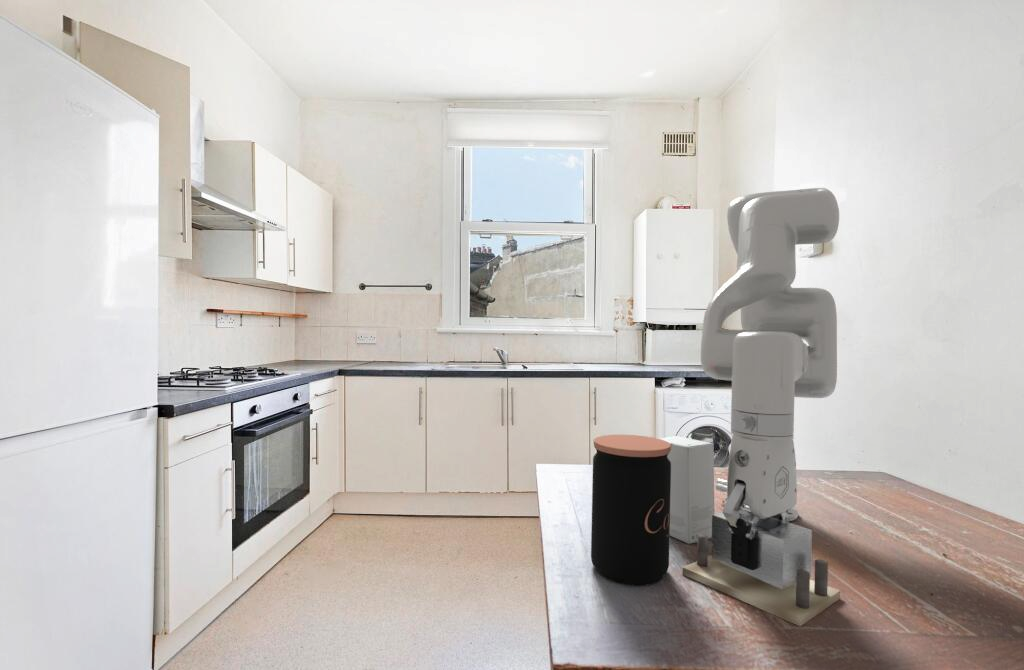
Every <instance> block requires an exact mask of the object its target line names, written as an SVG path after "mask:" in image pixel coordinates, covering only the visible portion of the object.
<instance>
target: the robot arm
mask: <svg viewBox="0 0 1024 670" xmlns="http://www.w3.org/2000/svg"><path fill="white" fill-rule="evenodd" d="M726 213H727V215H726V217H727V218H726V219H727V226H728V231H729V236H730V239H731V242H732V245H733V248H734V250H735V252H736V255H737V258H736V273H735V274H734V275H733V276H732V277H731V278H729V279H728V280H727V281H726V282H724V284H723V285H722V286H721V287H720V288H719V289H718V290H717V291H716V292H715V294H714V295H713V296H712V298H711V300H710V301H709V303H708V304H707V307H706V309H705V311H704V316H703V320H702V321H703V322H702V331H701V340H700V341H701V342H700V364H701V367H702V370H703V372H704V373H705V374H706V376H708V377H710V378H711V379H713V380H714V379H715V380H723V381H731V410H730V434H731V435H732V438H731V441H730V442H731V443H730V449H729V456H728V465H727V466H728V467H727V479H723V478H717V481H716V486H715V489H716V491H719V492H724V493H726V498H725V499H724V503H723V505H724V506H723V508H722V512H723V514H724V516H725V518H726V520H727V523H728V525H729V531H730V533H731V561H732V562H733V563H734V564H737V565H740V566H742V567H745V568H747V569H750V570H755V569H756V568H757V538H754V535H755V531H756V527H757V523H758V519H759V518H760V519H767V518H770V517H773V518H776V519H779V520H782V521H786V522H789V523H790V522H792V521H795V520H797V519H798V517H799V510H798V509H797V507H795V506H796V505H797V501H798V494H797V493H798V491H797V490H798V489H797V486H798V485H797V484H798V483H797V460H796V459H797V458H796V450H795V443H794V434H795V433H794V432H795V431H794V430H795V428H794V427H795V398H805V399H808V398H809V399H823V398H828V397H830V396H831V395H832V394H833V393H834V392H835V390H836V386H837V381H838V379H837V378H838V316H837V306H836V301H835V297H834V296H833V295H832V293H831V292H830V291H828V290H826V289H825V288H820V287H792V286H791V285H793V282H794V281H795V279H796V273H797V270H796V269H797V266H796V265H797V264H796V246H797V245H818V244H819V245H820V244H826V243H830V242H831V241H833V240H834V238H835V237H836V235H837V233H838V230H839V224H840V209H839V204H838V200H837V198H836V196H835V194H834V193H833V192H832V191H831V190H829V189H828V188H826V187H813V188H803V189H802V188H801V189H790V190H789V189H788V190H779V191H778V190H777V191H766V192H757V193H752V194H746V195H742V196H740V197H737V198H735V199H734V200H732V201H731V202H730V203H729V205H728V207H727V212H726ZM739 310H740V324H741V328H742V329H723V324H724V323H725V321H726V320H727V319H728V318H729V317H730V316H731V315H732V314H734V313H735V312H737V311H739ZM804 341H805V342H806V343H807V344H808V345H807V344H806V343H805V342H804ZM742 508H745V509H748V510H750V511H751V512H749V511H745V510H742ZM741 516H746V517H749V522H748V526H747V524H746V523H745V521H744V520H743V519H741Z"/></svg>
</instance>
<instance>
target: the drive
mask: <svg viewBox="0 0 1024 670" xmlns="http://www.w3.org/2000/svg"><path fill="white" fill-rule="evenodd" d="M742 510H745V511H749V512H751V511H750V510H748V509H745V508H742ZM741 519H743V520H744V521H745V523H746V524H747V526H748V522H749V517H746V516H741ZM754 538H757V568H756V569H755V570H750V569H747V568H745V567H742V566H740V565H737V564H734V563H733V562H732V561H731V533H730V531H729V525H728V523H727V520H726V518H725V516H724V514H723V511H721V512H718V513H714V515H712V538H711V548H710V549H711V554H710V555H711V559H714V560H716V561H718V562H721V563H723V564H725V565H727V566H730V567H732V568H734V569H737V570H739V571H741V572H743V573H746V574H748V575H750V576H753V577H755V578H757V579H760V580H762V581H764V582H766V583H769V584H771V585H773V586H776V587H778V588H780V589H785V588H787V587H789V586H791V585H794V584H796V572H797V570H805V571H808V572H809V573H810V578H811V577H812V548H813V547H812V543H813V530H812V529H810V528H808V527H804V526H801V525H798V524H795V523H791V522H790V521H789V522H786V521H782V520H779V519H776V518H773V517H770V518H767V519H760V518H759V519H758V523H757V527H756V531H755V535H754Z"/></svg>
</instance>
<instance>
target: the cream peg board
mask: <svg viewBox="0 0 1024 670" xmlns="http://www.w3.org/2000/svg"><path fill="white" fill-rule="evenodd" d="M696 543H697V545H696V546H697V548H696V549H697V550H696V561H694V562H691V563H690V564H687V565H684V566H683V567H682V569H681V570H682V575H683V576H685V577H687V578H689V579H692V580H694V581H696V582H699V583H701V584H704V586H708V587H711V588H712V589H714V590H716V591H719V592H722V593H724V594H725V595H728V596H730V597H733V598H734V599H737V600H740V601H742V602H744V603H746V604H749V605H750V606H753V607H755V608H757V609H760V610H762V611H764V612H767V613H769V614H771V615H773V616H775V617H778V618H781V619H782V620H785V621H787V622H788V623H791V624H794V625H796V626H799V627H801V626H803V625H804V624H806V623H807V622H809V621H811V620H812V619H813V618H815V617H816V616H817V615H819V614H820V613H821V612H823V611H824V610H826V609H827V608H829V607H830V606H832V605H833V604H834V603H836V602H837V601H839V600H840V599H841V590H840V589H837V588H834V587H832V586H829V585H828V580H829V579H828V575H829V562H828V561H826V560H823V559H820V558H819V559H818V558H817V559H815V560H814V580H813V579H811V577H810V573H809V572H808V571H805V570H797V572H796V584H794V585H791V586H789V587H787V588H785V589H780V588H778V587H776V586H773V585H771V584H769V583H766V582H764V581H762V580H760V579H757V578H755V577H753V576H750V575H748V574H746V573H743V572H741V571H739V570H737V569H734V568H732V567H730V566H727V565H725V564H723V563H721V562H718V561H716V560H714V559H711V554H710V555H709V539H708V536H707V535H704V534H699V535H697V542H696Z"/></svg>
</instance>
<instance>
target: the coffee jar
mask: <svg viewBox="0 0 1024 670" xmlns="http://www.w3.org/2000/svg"><path fill="white" fill-rule="evenodd" d="M593 448H594V449H595V451H596V453H595V454H594V455H593V458H592V485H591V486H592V490H591V491H592V493H591V532H590V533H591V538H590V558H591V562H592V565H593V566H594V567H595V571H597V572H598V574H599V575H600V576H601V577H603V578H604V579H606V580H608V581H611V582H613V583H617V584H621V585H626V586H637V587H638V586H639V587H642V586H651V585H653V584H654V585H655V584H657V583H659V582H660V581H662V580H663V578H664V576H665V575H667V573H668V570H669V567H670V538H671V536H670V491H671V462H670V461H669V459H668V458H667V455H668V454H669V453H670V451H671V444H670V443H669V442H666V441H664V440H661V439H659V438H657V437H652V436H646V435H636V434H608V435H602V436H601V435H600V436H597V437H595V438H594V439H593Z"/></svg>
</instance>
